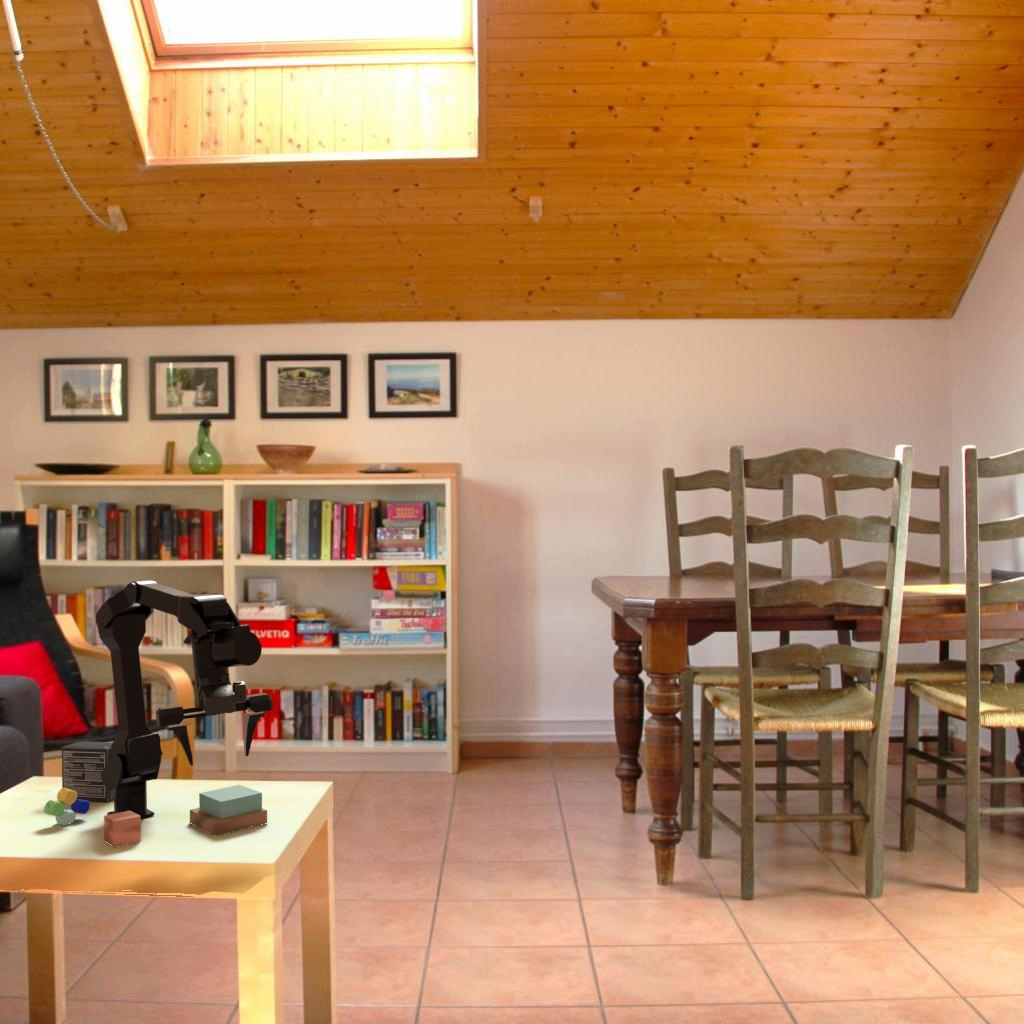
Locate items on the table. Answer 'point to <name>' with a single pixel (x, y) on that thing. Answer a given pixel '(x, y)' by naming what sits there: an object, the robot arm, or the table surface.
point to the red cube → (122, 828)
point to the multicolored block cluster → (58, 807)
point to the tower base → (226, 821)
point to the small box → (86, 770)
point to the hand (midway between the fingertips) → (219, 760)
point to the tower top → (230, 801)
